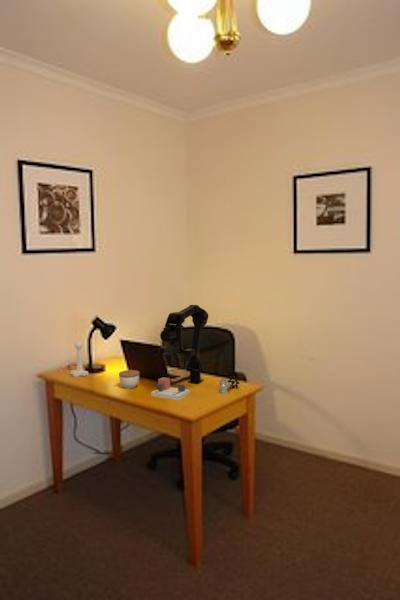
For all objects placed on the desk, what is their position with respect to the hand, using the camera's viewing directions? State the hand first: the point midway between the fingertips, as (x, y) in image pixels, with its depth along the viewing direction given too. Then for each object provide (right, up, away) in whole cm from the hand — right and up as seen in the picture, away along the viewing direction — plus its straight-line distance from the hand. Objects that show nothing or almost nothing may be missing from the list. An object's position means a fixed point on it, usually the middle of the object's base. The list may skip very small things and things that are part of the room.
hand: (177, 367), depth 238 cm
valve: (+26, -12, 0) cm, 28 cm away
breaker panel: (-3, -13, -5) cm, 14 cm away
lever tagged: (-9, -11, -5) cm, 15 cm away
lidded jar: (-26, -12, +10) cm, 30 cm away
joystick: (-60, -10, +34) cm, 69 cm away
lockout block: (-7, -10, -1) cm, 12 cm away
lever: (+2, -11, -5) cm, 12 cm away
